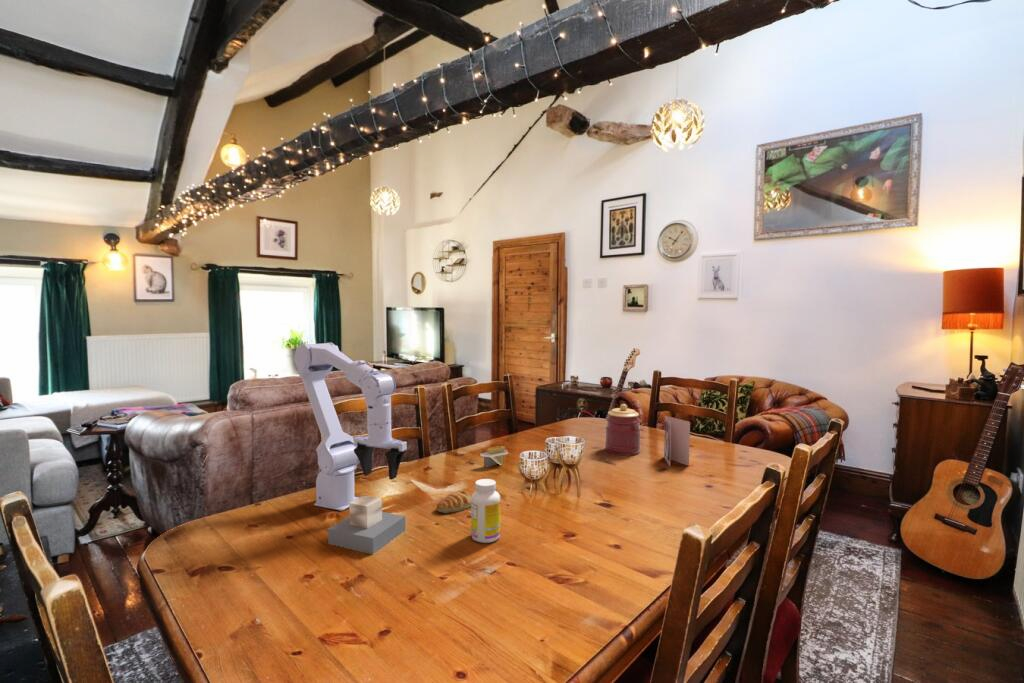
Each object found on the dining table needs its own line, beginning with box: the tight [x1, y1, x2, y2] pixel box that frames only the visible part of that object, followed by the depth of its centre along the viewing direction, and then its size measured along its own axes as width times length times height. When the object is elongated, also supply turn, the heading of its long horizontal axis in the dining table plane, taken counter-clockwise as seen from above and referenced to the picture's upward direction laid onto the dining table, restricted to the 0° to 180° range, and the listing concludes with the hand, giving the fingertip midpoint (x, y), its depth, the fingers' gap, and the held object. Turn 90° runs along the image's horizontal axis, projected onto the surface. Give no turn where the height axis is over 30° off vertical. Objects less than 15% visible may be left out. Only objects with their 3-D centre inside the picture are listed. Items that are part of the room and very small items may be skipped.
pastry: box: [436, 490, 471, 514], centre depth 126 cm, size 9×7×4 cm
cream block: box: [349, 495, 383, 529], centre depth 109 cm, size 5×5×5 cm
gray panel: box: [327, 511, 406, 555], centre depth 109 cm, size 12×12×4 cm
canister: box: [604, 403, 642, 456], centre depth 179 cm, size 13×13×18 cm
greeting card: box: [662, 415, 691, 467], centre depth 165 cm, size 11×7×15 cm, turn 172°
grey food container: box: [480, 445, 509, 468], centre depth 160 cm, size 12×18×7 cm, turn 126°
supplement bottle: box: [470, 478, 501, 544], centre depth 109 cm, size 7×7×13 cm
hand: (380, 476), depth 120 cm, fingers open, 7 cm apart
